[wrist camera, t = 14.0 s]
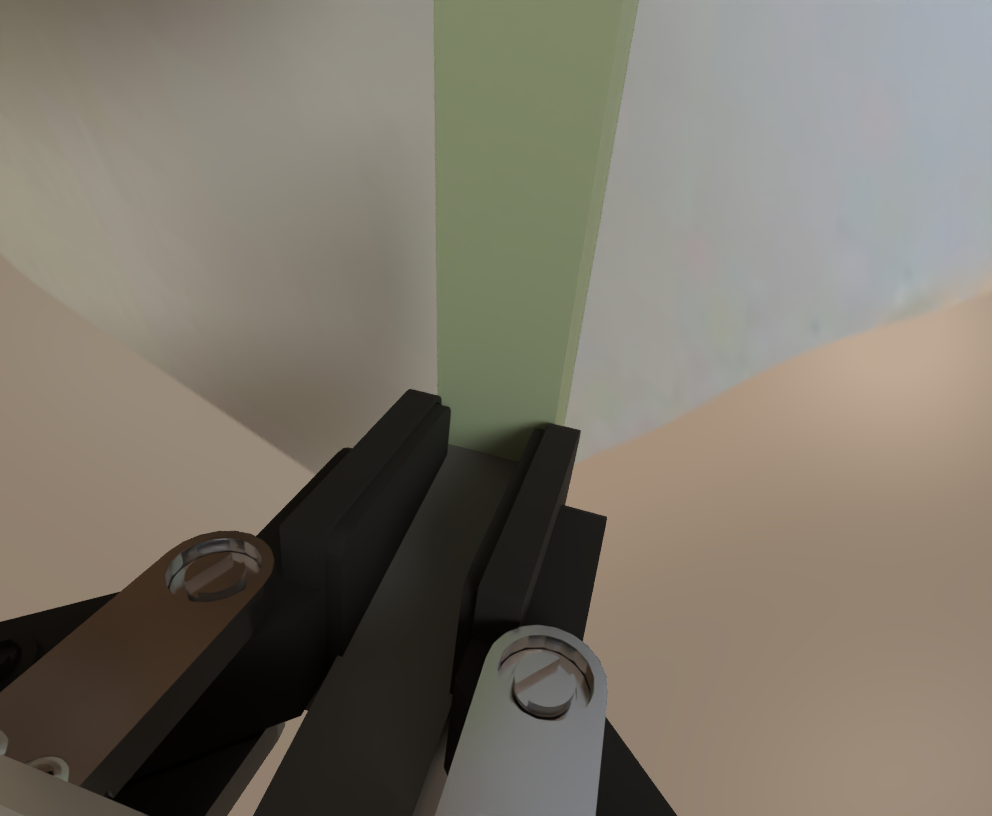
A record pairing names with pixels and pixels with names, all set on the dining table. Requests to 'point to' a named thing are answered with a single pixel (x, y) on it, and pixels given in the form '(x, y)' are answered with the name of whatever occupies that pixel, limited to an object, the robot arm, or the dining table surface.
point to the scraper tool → (474, 372)
